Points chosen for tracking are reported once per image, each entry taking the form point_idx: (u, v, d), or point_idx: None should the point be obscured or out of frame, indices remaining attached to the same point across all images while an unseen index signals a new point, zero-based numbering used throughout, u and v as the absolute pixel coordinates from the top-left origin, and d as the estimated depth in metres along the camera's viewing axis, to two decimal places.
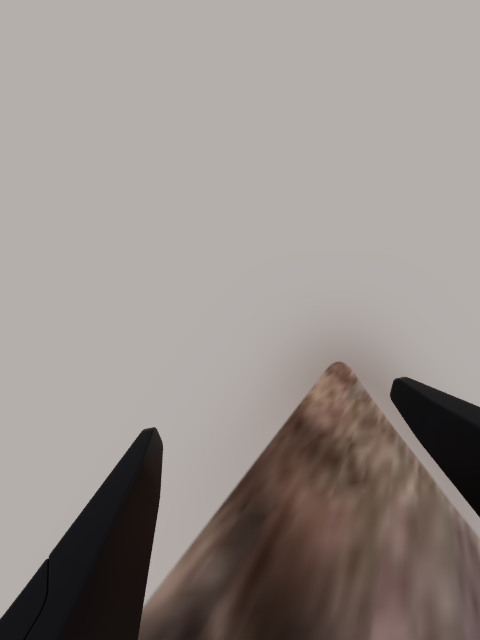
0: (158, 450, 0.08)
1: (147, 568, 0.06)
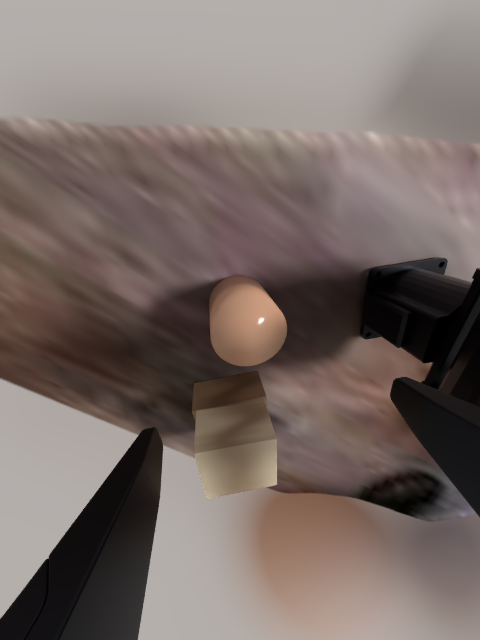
0: (158, 450, 0.08)
1: (147, 568, 0.06)
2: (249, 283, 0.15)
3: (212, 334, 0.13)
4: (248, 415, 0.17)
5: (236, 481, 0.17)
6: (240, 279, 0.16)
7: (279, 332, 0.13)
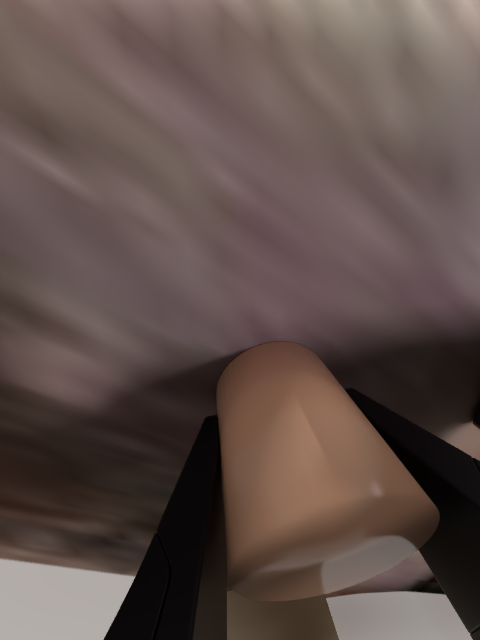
0: None
1: None
2: (313, 379, 0.06)
3: (233, 573, 0.04)
4: (293, 625, 0.08)
5: None
6: (286, 359, 0.07)
7: (413, 540, 0.05)
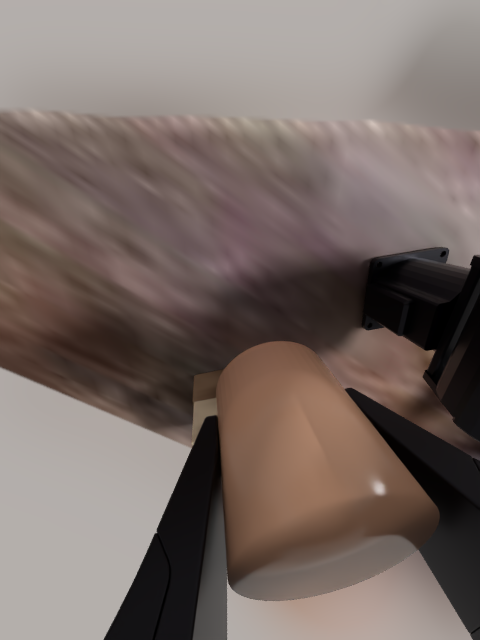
0: None
1: None
2: (312, 378, 0.06)
3: (233, 573, 0.04)
4: None
5: None
6: (286, 358, 0.07)
7: (413, 539, 0.05)
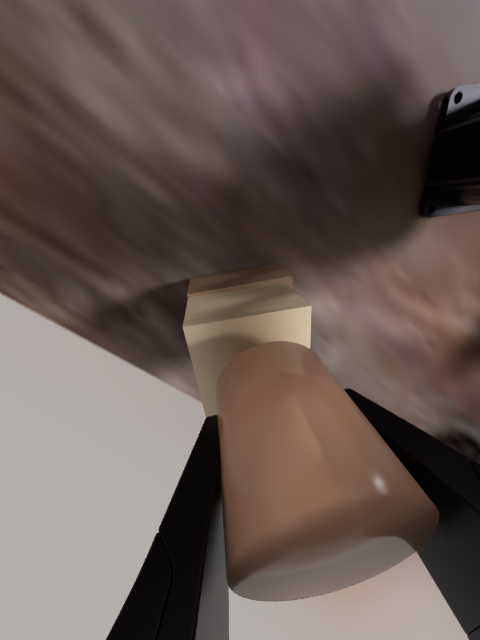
0: None
1: None
2: (312, 378, 0.06)
3: (232, 573, 0.04)
4: (264, 293, 0.11)
5: None
6: (286, 359, 0.07)
7: (412, 540, 0.05)
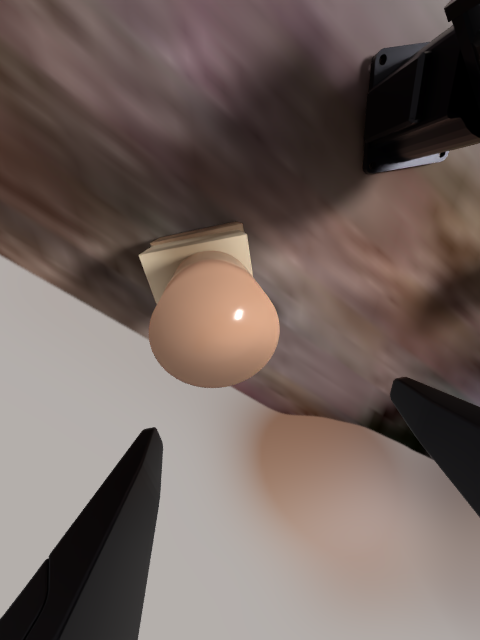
0: (158, 450, 0.08)
1: (147, 568, 0.06)
2: (220, 258, 0.10)
3: (152, 339, 0.08)
4: (216, 235, 0.13)
5: None
6: (209, 253, 0.10)
7: (267, 332, 0.08)
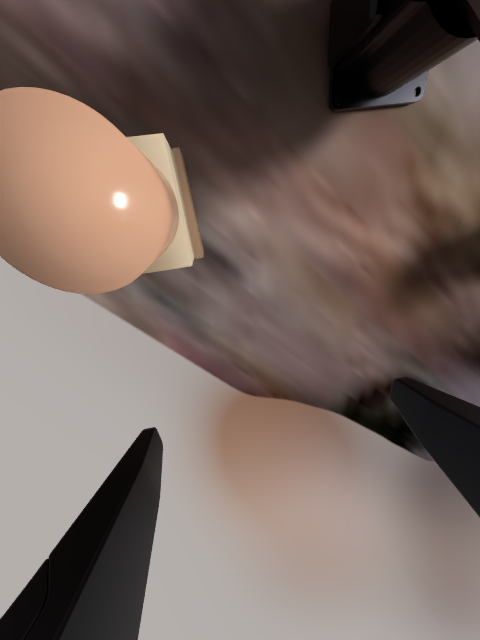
0: (158, 450, 0.08)
1: (147, 568, 0.06)
2: None
3: None
4: None
5: None
6: None
7: (142, 210, 0.06)
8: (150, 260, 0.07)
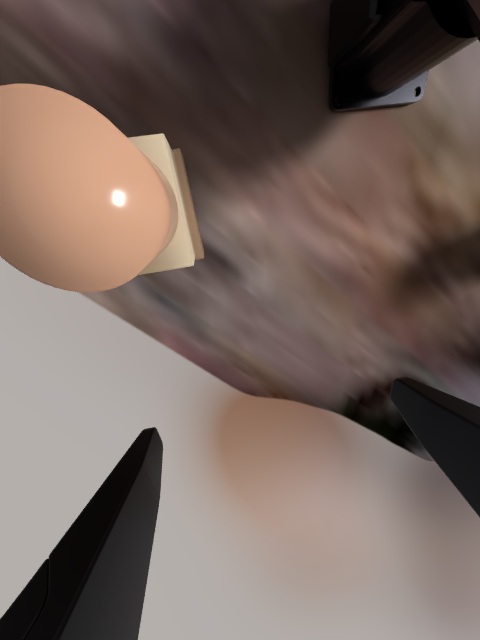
0: (158, 450, 0.08)
1: (147, 568, 0.06)
2: None
3: None
4: None
5: None
6: None
7: (140, 206, 0.06)
8: (149, 257, 0.07)
